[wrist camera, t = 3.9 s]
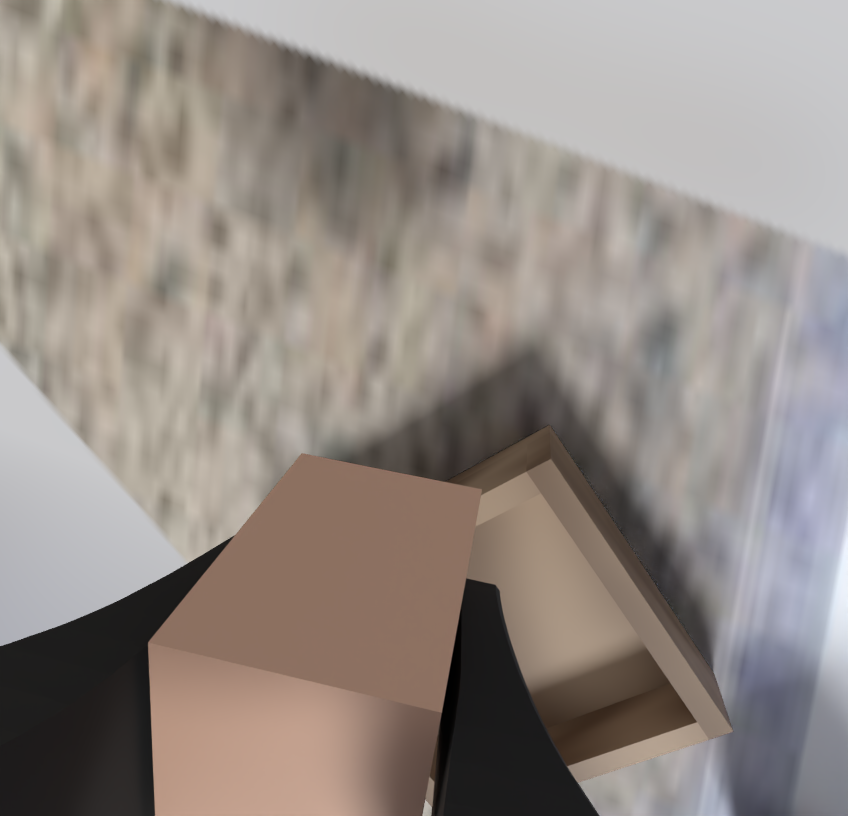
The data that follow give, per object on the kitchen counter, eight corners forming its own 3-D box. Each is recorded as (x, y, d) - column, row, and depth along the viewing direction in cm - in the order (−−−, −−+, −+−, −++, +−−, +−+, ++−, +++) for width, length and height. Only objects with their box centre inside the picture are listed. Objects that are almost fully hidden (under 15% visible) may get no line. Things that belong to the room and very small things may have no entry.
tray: (549, 424, 20) (551, 458, 18) (714, 673, 23) (733, 731, 20) (291, 565, 24) (265, 608, 22) (455, 767, 26) (447, 825, 24)
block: (481, 489, 14) (441, 713, 8) (454, 636, 15) (404, 909, 10) (302, 453, 14) (148, 642, 9) (292, 600, 16) (155, 840, 10)
